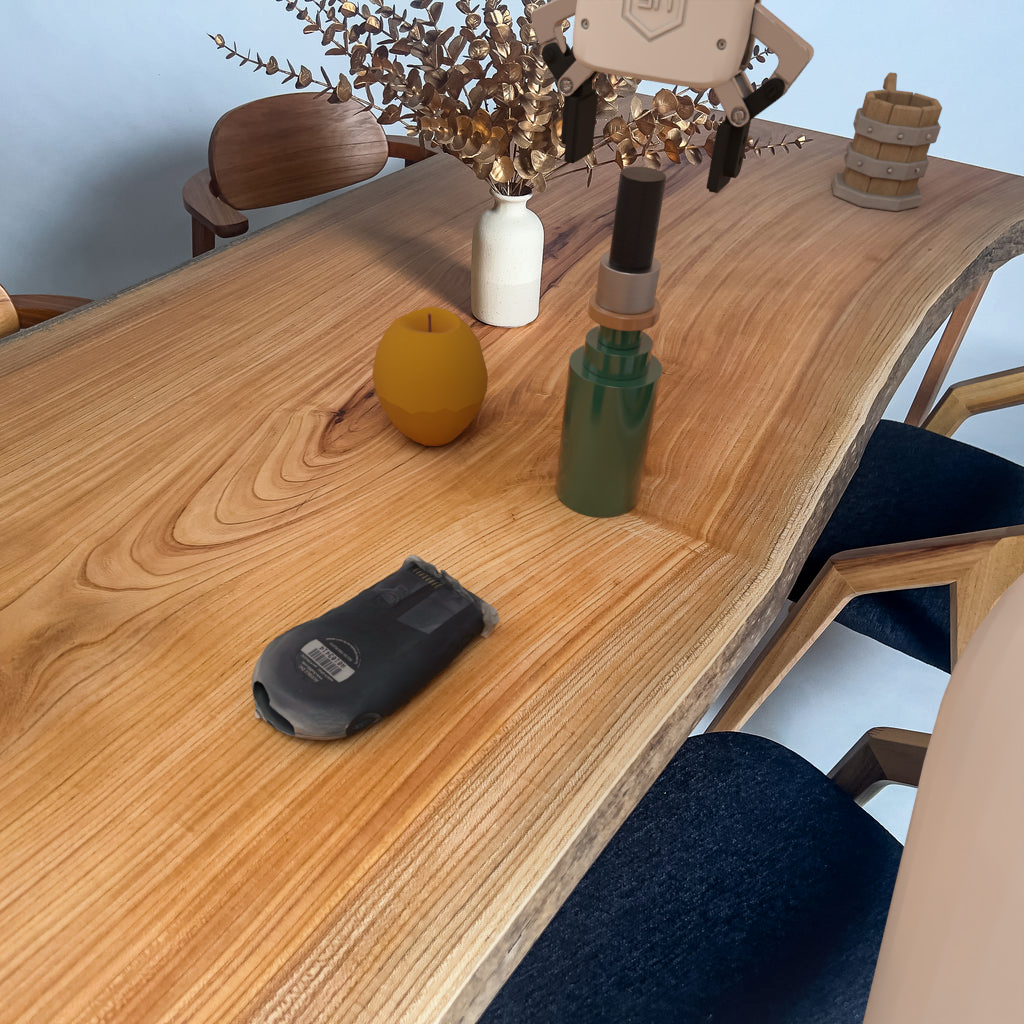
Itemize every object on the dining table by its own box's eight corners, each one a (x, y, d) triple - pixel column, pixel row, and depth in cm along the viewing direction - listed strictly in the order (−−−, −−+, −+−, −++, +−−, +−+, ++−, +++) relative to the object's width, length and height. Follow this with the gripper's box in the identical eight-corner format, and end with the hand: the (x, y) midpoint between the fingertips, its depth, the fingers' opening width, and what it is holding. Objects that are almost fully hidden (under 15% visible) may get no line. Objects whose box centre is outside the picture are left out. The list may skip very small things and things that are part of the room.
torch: (666, 307, 64) (688, 179, 59) (619, 319, 62) (638, 188, 57) (629, 284, 67) (647, 160, 61) (583, 295, 65) (598, 168, 59)
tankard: (922, 215, 133) (960, 107, 123) (834, 204, 134) (864, 96, 125) (906, 173, 148) (938, 74, 139) (827, 164, 150) (853, 65, 140)
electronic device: (396, 590, 67) (221, 683, 56) (410, 533, 63) (226, 621, 53) (487, 668, 63) (317, 784, 52) (507, 612, 59) (330, 724, 49)
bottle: (656, 501, 75) (694, 311, 64) (588, 527, 71) (616, 332, 61) (604, 458, 79) (632, 274, 68) (538, 481, 76) (556, 292, 65)
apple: (387, 399, 84) (383, 281, 77) (490, 409, 84) (496, 291, 77) (365, 459, 77) (358, 334, 69) (478, 470, 76) (484, 346, 69)
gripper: (516, -169, 48) (501, 161, 59) (844, -144, 43) (762, 216, 53) (573, -166, 54) (549, 135, 64) (870, -144, 48) (792, 183, 58)
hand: (646, 172), depth 59 cm, fingers open, 9 cm apart
